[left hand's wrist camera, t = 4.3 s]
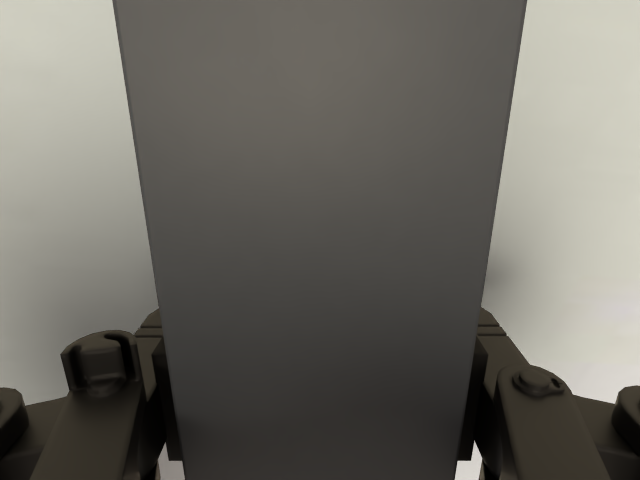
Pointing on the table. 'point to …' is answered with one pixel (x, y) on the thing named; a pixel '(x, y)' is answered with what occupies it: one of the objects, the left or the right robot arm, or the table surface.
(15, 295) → the table surface
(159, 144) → the post
